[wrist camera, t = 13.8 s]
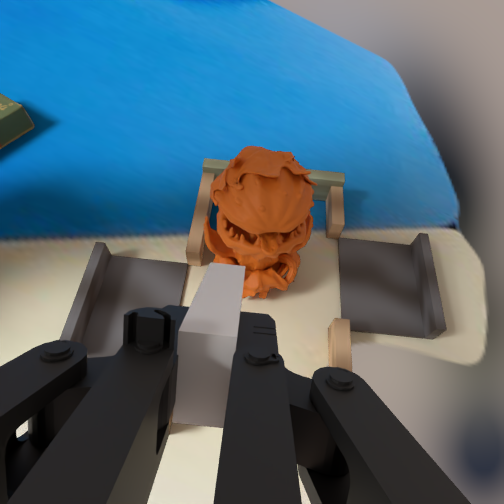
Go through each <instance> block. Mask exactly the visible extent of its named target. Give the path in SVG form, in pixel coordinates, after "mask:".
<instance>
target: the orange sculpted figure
mask: <svg viewBox="0 0 504 504" xmlns="http://www.w3.org/2000/svg"><path fill="white" fill-rule="evenodd" d="M294 157H295V156H293V154H292V153H291V152H282V151H277V152H275V151H271V150H267V149H265V148H263V147H257V146H248V147H245V148H243V149H242V150H241V152H240V153H239V154H238V155H237V156H236V157H235V159H231V160H230V163H229V165H228V167H227V168H226V169H225V170H224V171H223V172H222V173H221V174H220V175H219V176H217V178H216V179H215V180H214V181H213V182H212V183H211V185H210V187H211V189H210V198H211V200H212V201H213V202H214V204H215V206H217V205H218V207H219V211H218V213H217V231H216V230H213V229H212V228H211V227H210V224H209V220H208V216H206V217H205V223H204V224H203V226H204V228H203V230H204V234H205V236H204V239H205V243H206V245H207V247H208V249H209V250H210V251H211V252H213V253H214V254H216V255H215V258H214V260H213V261H214V263H221V264H230V265H239V266H245V275H244V284H243V294H242V298H245V297H247V296H253V297H254V296H255V294H256V293H259V292H260V293H259V298H263V299H265V298H266V296H267V293H268V292H269V289H270V288H272V289H273V288H278V289H280V290H282V291H284V290H287V287H288V285H289V284H290V283H291V282H294V278H295V276H296V274H297V267H299V265H300V256H299V255H298V254H297V252H296V251H298V250H299V249H300V248H302V247H304V246H305V245H306V244H307V241H308V240H309V238H310V235H311V228H312V227H313V217H312V216H311V215H310V211H309V210H310V208H311V207H313V206H314V202H313V201H312V195H313V194H314V190H313V189H312V186H311V185H315V186H317V184H316V183H315V182H313V181H311V180H309V177H308V175H309V174H311V171H306V169H305V168H304V167H302V166H301V165H299V162H297V161H296V160H295V159H294ZM288 269H289V271H288V274H287V275H286V277H285V278H284V279H283V278H282V276H283V275H284V274H285V273H286V272H287V270H288Z"/></svg>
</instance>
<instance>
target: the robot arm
mask: <svg viewBox="0 0 504 504" xmlns="http://www.w3.org/2000/svg"><path fill="white" fill-rule="evenodd" d="M244 275H245V266H239V265H230V264H221V263H212V262H210V265H209V267H208V269H207V271H206V273H205V275H204V277H203V280H202V282H201V284H200V286H199V288H198V290H197V292H196V294H195V297H194V299H193V301H192V303H191V305H190V307H184V306H175V305H167V306H165V307H163V308H156V307H145V308H137V309H134V310H131V311H128V312H127V313H126V314H124V321H123V345H122V346H121V348H120V349H119V350H118V352H117V353H116V354H115V355H113V356H106V357H93V358H87V351H88V349H87V348H86V347H85V345H84V344H81V343H79V342H76V341H69V340H62V341H61V340H55V341H53V342H49V343H44V344H42V345H39V346H37V347H35V348H33V349H31V350H29V351H27V352H26V353H24V354H22V355H20V356H18V357H17V358H15V359H13V360H11V361H9V362H8V363H6V364H4V365H2V366H1V367H0V504H147V501H148V498H149V495H150V492H151V489H152V486H153V483H154V480H155V476H156V473H157V470H158V467H159V464H160V461H161V458H162V455H163V452H164V448H165V445H166V442H167V439H168V434H169V420H170V417H171V414H172V411H173V421H172V423H180V424H189V425H199V426H209V427H218V428H223V436H222V443H221V451H220V458H219V466H218V473H217V481H216V488H215V496H214V504H302V502H301V494H300V486H299V478H298V471H299V476H300V478H301V481H302V483H303V485H304V488H305V490H306V493H307V495H308V498H309V500H310V502H311V504H471V503H470V502H469V501H468V500H467V499H466V497H465V496H464V495H463V494H462V493H461V492H460V490H459V489H458V488H457V487H456V486H455V485H454V483H453V482H452V481H451V480H450V479H449V478H448V477H447V475H446V474H445V473H444V472H443V471H442V470H441V468H440V467H439V466H438V465H437V464H436V463H435V462H434V460H433V459H432V458H431V457H430V456H429V455H428V454H427V453H426V451H425V450H424V449H423V448H422V447H421V445H420V444H419V443H418V442H417V441H416V440H415V438H414V437H413V436H412V435H411V434H410V433H409V431H408V430H407V429H406V428H405V427H404V426H403V425H402V423H401V422H400V421H399V420H398V419H397V418H396V416H395V415H394V414H393V413H392V412H391V411H390V410H389V408H388V407H387V406H386V405H385V404H384V403H383V401H382V400H381V399H380V398H379V397H378V396H377V395H376V393H375V392H374V391H373V390H372V389H371V388H370V386H369V385H368V384H367V383H366V382H365V381H364V380H363V379H362V378H360V376H358V375H357V374H355V373H353V372H351V371H349V370H347V369H344V368H343V369H342V368H340V367H324V368H320V369H318V370H316V371H315V372H314V374H313V377H312V379H310V378H306V377H303V376H300V375H298V374H295V373H293V372H291V371H289V370H288V369H286V368H285V366H284V360H283V358H282V356H281V355H280V354H278V345H277V336H276V326H275V321H274V320H273V319H272V318H271V317H270V316H269V314H260V313H250V312H241V303H242V294H243V284H244ZM27 420H28V431H27V432H26V433H24V434H23V435H22V436H20V437H18V438H17V437H16V429H17V428H18V427H19V426H20V425H22V424H23V423H24V422H26V421H27ZM297 464H298V470H297Z"/></svg>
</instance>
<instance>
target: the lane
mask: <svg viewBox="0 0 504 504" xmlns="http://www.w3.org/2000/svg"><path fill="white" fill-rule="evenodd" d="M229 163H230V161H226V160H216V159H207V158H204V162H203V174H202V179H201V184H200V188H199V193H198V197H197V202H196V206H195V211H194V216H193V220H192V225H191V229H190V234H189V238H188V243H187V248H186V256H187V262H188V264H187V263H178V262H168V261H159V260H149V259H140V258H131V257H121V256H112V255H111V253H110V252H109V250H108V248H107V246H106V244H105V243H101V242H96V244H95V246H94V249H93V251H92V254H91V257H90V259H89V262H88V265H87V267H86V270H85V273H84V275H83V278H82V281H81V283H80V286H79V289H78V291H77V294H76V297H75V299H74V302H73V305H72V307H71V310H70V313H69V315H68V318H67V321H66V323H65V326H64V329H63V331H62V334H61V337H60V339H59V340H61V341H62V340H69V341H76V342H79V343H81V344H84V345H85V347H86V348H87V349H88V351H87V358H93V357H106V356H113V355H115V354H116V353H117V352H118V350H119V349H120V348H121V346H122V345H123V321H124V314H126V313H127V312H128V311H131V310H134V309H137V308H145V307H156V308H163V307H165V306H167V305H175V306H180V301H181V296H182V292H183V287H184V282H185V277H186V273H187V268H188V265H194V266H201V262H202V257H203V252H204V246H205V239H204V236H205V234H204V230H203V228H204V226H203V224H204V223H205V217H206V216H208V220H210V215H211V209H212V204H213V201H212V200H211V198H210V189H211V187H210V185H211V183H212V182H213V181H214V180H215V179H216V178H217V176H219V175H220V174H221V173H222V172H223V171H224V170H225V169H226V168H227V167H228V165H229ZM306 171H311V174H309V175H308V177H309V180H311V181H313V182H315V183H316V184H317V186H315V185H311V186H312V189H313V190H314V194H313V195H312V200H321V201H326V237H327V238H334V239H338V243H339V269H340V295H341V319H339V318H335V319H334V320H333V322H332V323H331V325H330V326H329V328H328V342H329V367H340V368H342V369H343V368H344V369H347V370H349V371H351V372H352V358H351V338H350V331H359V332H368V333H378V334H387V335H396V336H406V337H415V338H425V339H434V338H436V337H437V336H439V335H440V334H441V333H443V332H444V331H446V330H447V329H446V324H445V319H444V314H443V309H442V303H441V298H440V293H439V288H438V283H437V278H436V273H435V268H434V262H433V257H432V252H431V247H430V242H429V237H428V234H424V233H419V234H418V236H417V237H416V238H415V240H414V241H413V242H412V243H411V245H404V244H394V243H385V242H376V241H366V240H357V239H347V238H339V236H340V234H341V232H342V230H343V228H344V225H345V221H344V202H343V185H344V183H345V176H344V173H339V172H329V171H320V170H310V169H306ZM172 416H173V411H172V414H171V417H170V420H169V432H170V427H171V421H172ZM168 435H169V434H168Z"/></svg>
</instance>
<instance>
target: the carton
mask: <svg viewBox="0 0 504 504" xmlns="http://www.w3.org/2000/svg"><path fill="white" fill-rule="evenodd" d="M34 127H35V125H34V123H33V121H32V120H31V118H30V116H29V115H28V113H27V112H26V110H25V109H24V108H23V106H22V105H20V104H18V103H16V102H14V101H13V100H11V99H9V98H7V97H6V96H4V95H2V94H1V93H0V149H1V148H3V147H5V146H6V145H8V144H9V143H11V142H12V141H14V140H16V139H17V138H19V137H20V136H22V135H24V134H25V133H27V132H28V131H30V130H32V129H33V128H34Z"/></svg>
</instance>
